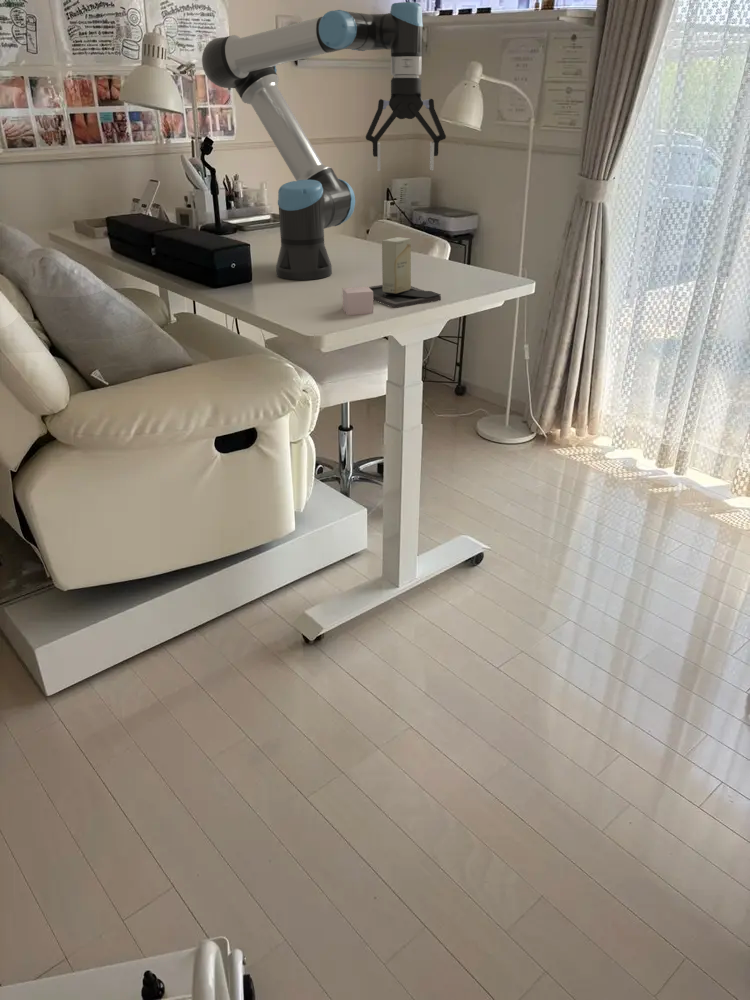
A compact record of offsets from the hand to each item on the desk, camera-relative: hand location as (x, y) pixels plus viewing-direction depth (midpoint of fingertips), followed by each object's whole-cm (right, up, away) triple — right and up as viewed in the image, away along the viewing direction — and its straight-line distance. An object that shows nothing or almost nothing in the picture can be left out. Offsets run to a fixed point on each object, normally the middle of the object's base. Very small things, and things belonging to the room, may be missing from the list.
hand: (405, 170), depth 203 cm
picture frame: (-2, -36, -10) cm, 37 cm away
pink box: (-12, -42, -22) cm, 49 cm away
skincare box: (-3, -34, -11) cm, 36 cm away
